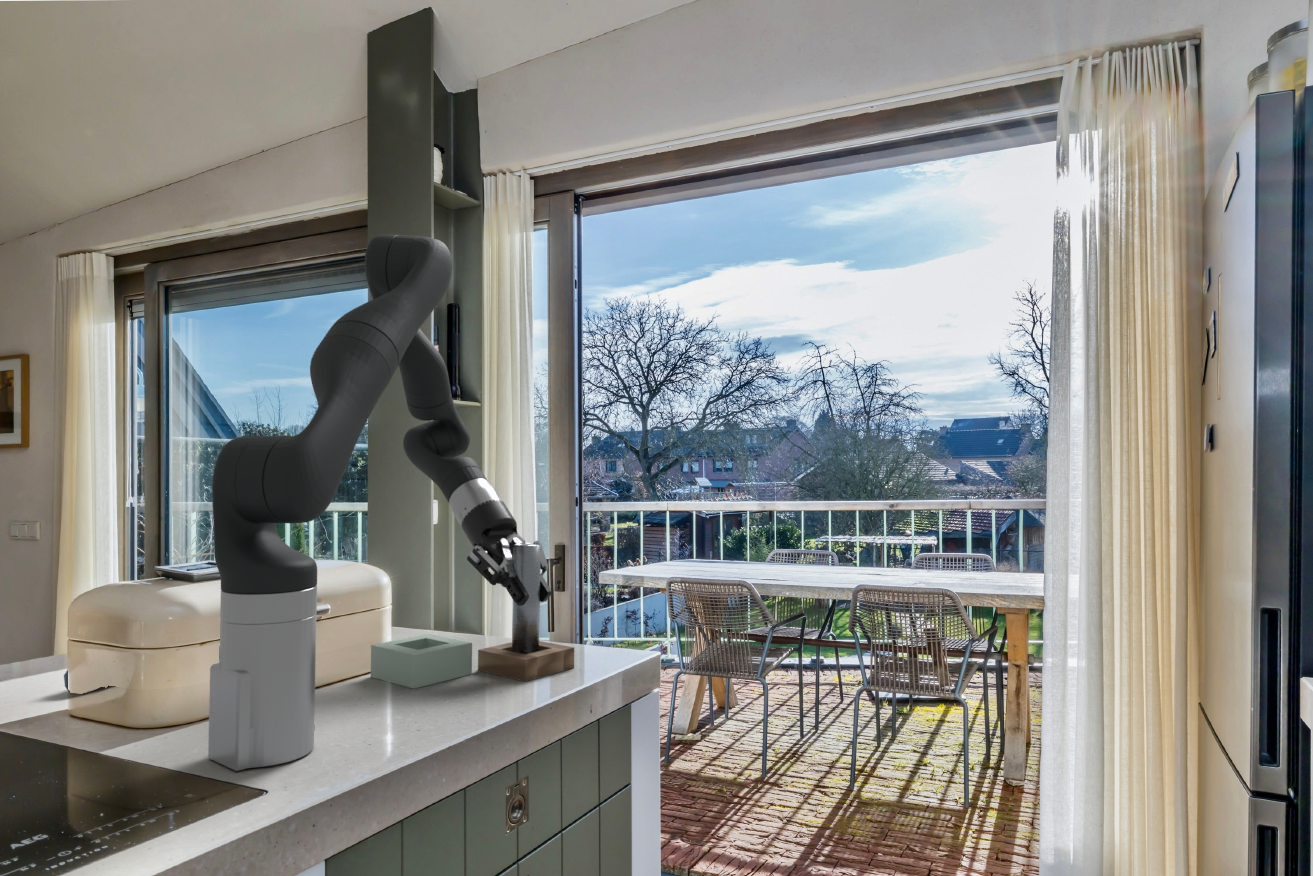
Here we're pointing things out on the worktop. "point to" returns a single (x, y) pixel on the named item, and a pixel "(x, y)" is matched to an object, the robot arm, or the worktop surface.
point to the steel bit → (529, 613)
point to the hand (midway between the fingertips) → (535, 599)
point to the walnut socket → (526, 661)
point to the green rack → (421, 660)
